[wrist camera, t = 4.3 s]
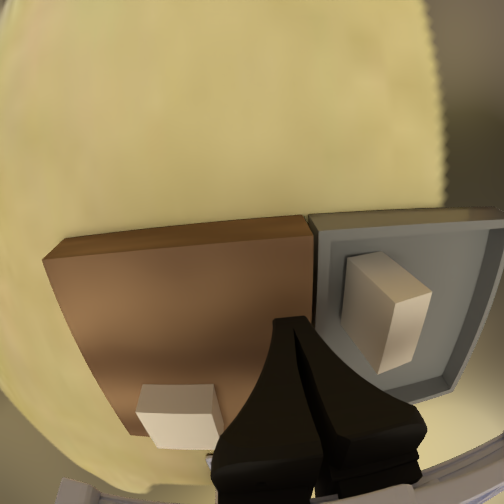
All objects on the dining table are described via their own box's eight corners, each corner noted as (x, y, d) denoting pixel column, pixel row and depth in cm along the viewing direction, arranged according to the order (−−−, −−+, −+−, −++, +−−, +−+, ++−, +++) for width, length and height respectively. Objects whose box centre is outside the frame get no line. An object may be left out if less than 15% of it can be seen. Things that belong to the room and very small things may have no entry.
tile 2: (223, 423, 17) (223, 449, 15) (162, 422, 17) (157, 448, 15) (213, 383, 15) (211, 413, 14) (142, 384, 15) (135, 412, 14)
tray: (442, 374, 20) (452, 391, 18) (302, 404, 20) (306, 426, 18) (494, 206, 14) (515, 218, 12) (308, 214, 14) (318, 231, 12)
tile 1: (340, 324, 16) (371, 315, 16) (377, 374, 13) (410, 361, 13) (347, 257, 14) (381, 250, 15) (395, 303, 11) (432, 291, 11)
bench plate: (298, 405, 20) (303, 431, 18) (136, 409, 20) (130, 435, 18) (302, 214, 14) (313, 235, 12) (64, 238, 14) (41, 259, 12)
